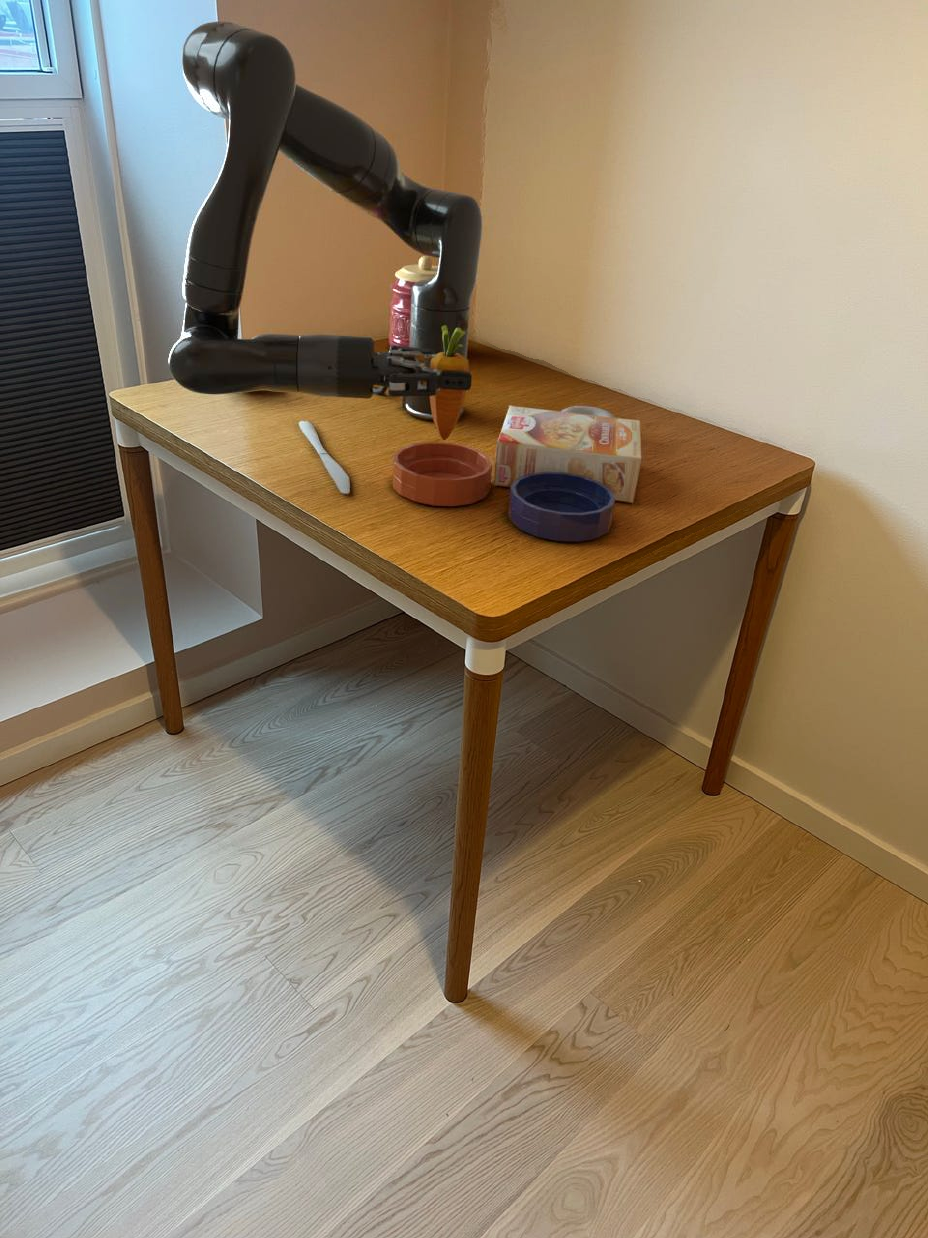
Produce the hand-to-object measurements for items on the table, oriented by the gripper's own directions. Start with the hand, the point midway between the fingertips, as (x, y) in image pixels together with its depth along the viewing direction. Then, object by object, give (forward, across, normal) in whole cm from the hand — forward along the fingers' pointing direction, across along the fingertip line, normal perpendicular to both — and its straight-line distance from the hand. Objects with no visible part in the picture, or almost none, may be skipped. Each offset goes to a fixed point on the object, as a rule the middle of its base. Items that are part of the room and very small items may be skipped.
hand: (469, 373), depth 117 cm
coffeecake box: (+25, +4, +12) cm, 28 cm away
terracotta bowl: (-3, 0, +16) cm, 16 cm away
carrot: (-3, 0, +9) cm, 10 cm away
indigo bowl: (+12, -9, +16) cm, 22 cm away
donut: (+22, +24, +16) cm, 36 cm away
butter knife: (-19, +9, +16) cm, 26 cm away
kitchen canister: (-4, +66, +17) cm, 68 cm away
